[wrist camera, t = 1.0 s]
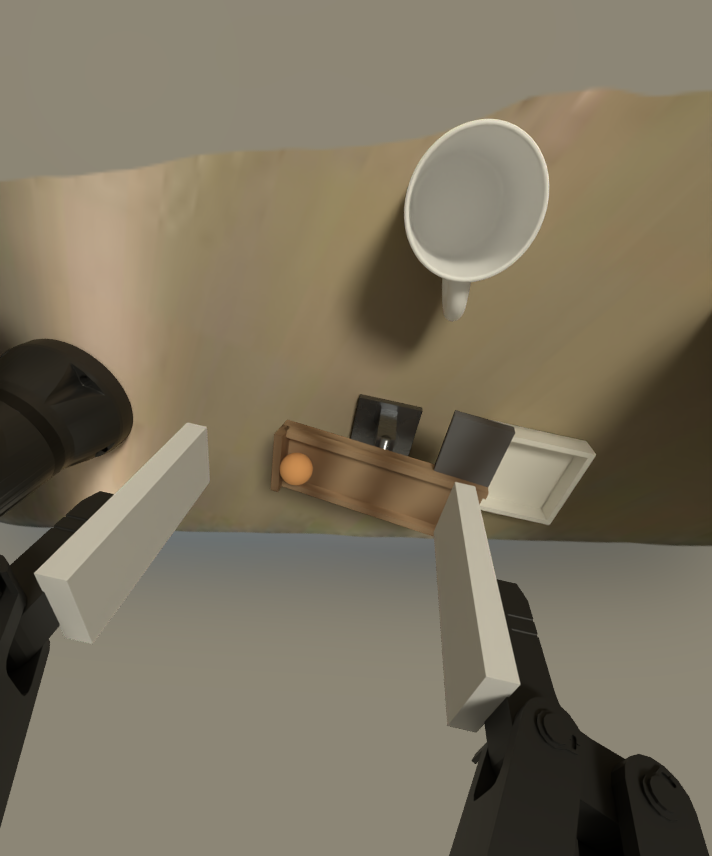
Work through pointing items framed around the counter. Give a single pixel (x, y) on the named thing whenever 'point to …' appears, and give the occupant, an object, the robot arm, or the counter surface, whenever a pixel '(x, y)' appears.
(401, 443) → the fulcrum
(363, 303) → the counter surface
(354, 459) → the plank
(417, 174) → the mug
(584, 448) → the dish
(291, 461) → the ball
